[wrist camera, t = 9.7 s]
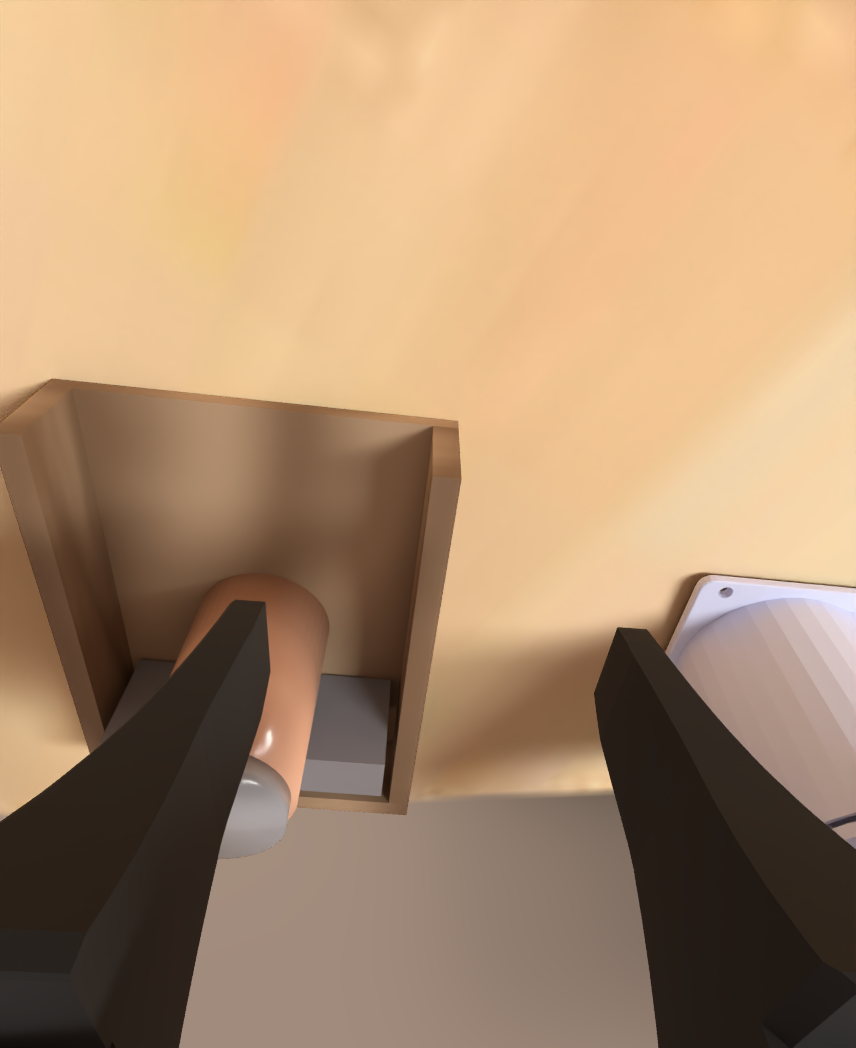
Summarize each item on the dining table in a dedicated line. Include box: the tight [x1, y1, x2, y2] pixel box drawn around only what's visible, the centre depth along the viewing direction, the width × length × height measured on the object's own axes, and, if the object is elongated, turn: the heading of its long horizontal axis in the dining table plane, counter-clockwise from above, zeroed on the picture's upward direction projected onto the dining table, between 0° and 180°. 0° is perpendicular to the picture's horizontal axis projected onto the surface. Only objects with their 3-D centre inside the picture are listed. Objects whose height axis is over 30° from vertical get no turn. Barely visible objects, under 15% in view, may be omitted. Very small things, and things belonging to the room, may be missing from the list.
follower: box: [99, 659, 391, 796], centre depth 25 cm, size 10×2×5 cm, turn 84°
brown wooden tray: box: [0, 379, 461, 815], centre depth 24 cm, size 13×17×4 cm
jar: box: [170, 573, 329, 859], centre depth 22 cm, size 5×5×8 cm
